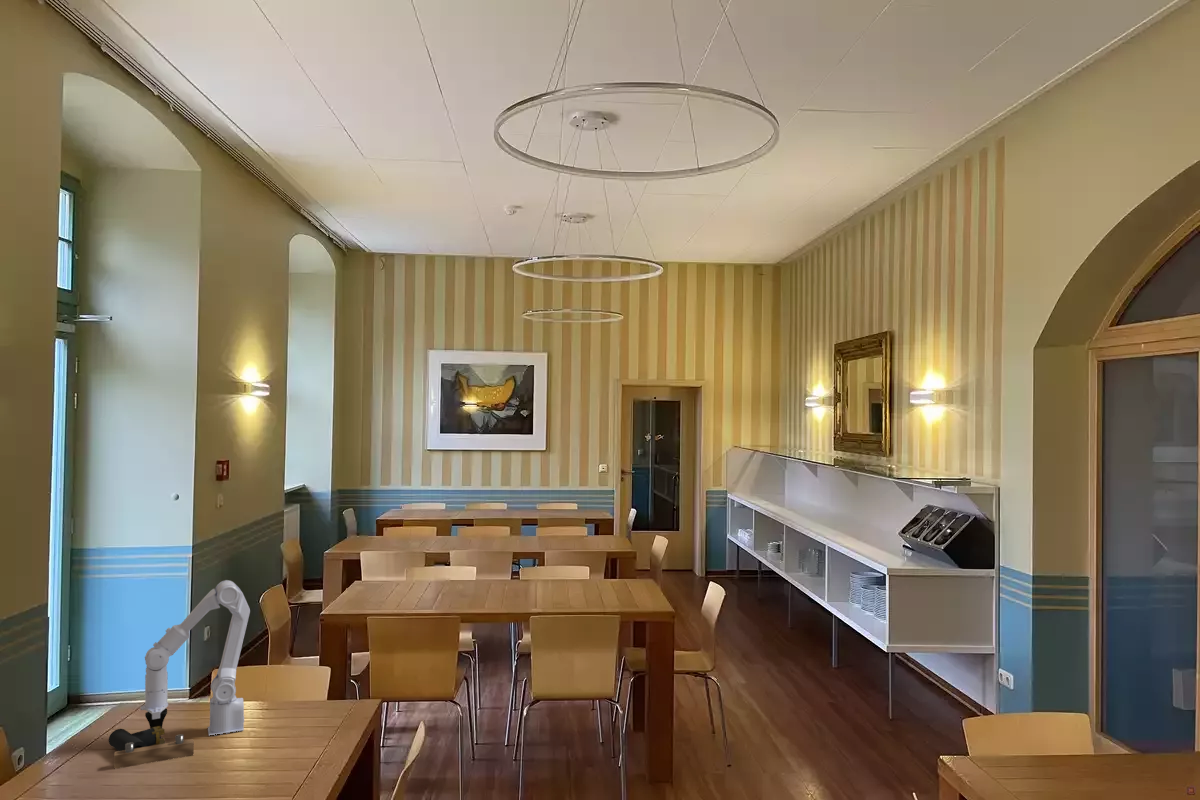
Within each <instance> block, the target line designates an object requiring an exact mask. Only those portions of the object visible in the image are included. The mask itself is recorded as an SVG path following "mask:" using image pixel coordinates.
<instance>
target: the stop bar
mask: <svg viewBox="0 0 1200 800" xmlns="http://www.w3.org/2000/svg"><path fill="white" fill-rule="evenodd" d="M174 737H175V738H174V739H175V741H172V742H167V743H166V742H165V743H164V744H159V745H153V746H147V747H141V748H135V749H134V743H133V742H130V743H127V744H125V750H123V751H118V750H116V751H114V754H113V755H114V756H113V769H114V768H117V769H121V768H120V767H123V768H128V767H132V766H133V767H134V766H139V765H145V764H144V763H146V764H150V763H151V762H152V763H157V762H163V761H169V760H173V758H174V759H179V758H178V757H180V758H184V757H185V756H186V757H190V755H192V756H194V755H193V754H194V753H195V752H194V750H195V749H194V748H195V745H194V744H195V743H194V741H195V740H194V739H193V738H191V739H185V738H184V734H181V733H179V734H176V735H175V736H174ZM184 739H185V740H184ZM168 759H169V760H168ZM156 761H157V762H156Z"/></svg>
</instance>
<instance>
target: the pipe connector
mask: <svg viewBox="0 0 1200 800" xmlns="http://www.w3.org/2000/svg"><path fill="white" fill-rule="evenodd" d="M165 732H166V731H165V728H163V727H162V728H161V727H160V726H157V727H152V728H150V727H149V728H147V729H144V730H140V731H136V732H132V733H130V732H129V731H128V730H126V729H124V728H117V729H115V730H113V731H112V732H111V733H110V734H109V736H108V745H110V746H111V747H112V748H113V749H115V750H116V751H123V750H125V744H127V743H130V742H133V743H134V749H135V748H141V747H147V746H153V745H159V744H165V743H166V741H165V739H166V738H164V737H162V735H165Z"/></svg>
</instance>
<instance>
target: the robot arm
mask: <svg viewBox="0 0 1200 800" xmlns="http://www.w3.org/2000/svg"><path fill="white" fill-rule="evenodd" d="M220 605H222V607H225V608H226V609H228V611H229V612H230V614H231V620H230V622H229V627H228V632H227V636H226V639H225V643H224V648H223V651H222V656H221V660H220V665H219V667H218V668H217V669H218V670H217V672H216V675H215V676H214V678H213V679H212V680H211V684H210V690H211V691H212V697H211V698H210V699H209V726H207V728H208V729H207V734H208V736H209V737H211V736H210V735H214V736H218V735H217V734H220V735H224V734H223V733H226V734H230V732H233V733H238V731H239V732H243V731H244V730H245V729H244V728H245V727H244V723H245V714H244V713H245V708H244V707H245V705H244V704H245V703H244V698H243V697H237V695H236V693H237V688H236V684H235V683H236V680H237V679H236V678H237V676H236V675H237V668H238V664H239V659H240V656H241V651H242V648H243V642H244V638H245V636H246V635H245V634H246V630H247V627H248V626H247V625H248V622H249V617H250V614H251V609H250V606H249V604H248V602H247V599H246V597H245V595H244V592H243V591H242V590H241V588H240V587H239V586H238V585H237V584H236V583H235V582H234V581H232V580H228V579H225V580H222V581H220V582H219V583H218V584H217V585H216V586H215V588H212V589H211V590H210V591H209V592H208V593H207V594H206V595H205V596H204V597H203V598H202V599H201V600H200V602H198V604H197V605H196V606H195V607H194V608H193V610H191V612H190V613H189V614H188V615H187V616H186V617H185V619H184V620H183V621H182V622H181V623H180V624H174V625H172V627H171V628H170V627H168V628H166V630H165V634H164V635H163V636H162V637H160V639H159V640H158V641H156V642H154V643H153V645H152V646H153V647H150V648H149V649H148V650H147V652H146V653H145V656H144V661H145V665H146V667H145V673H146V674H145V676H144V679H145V681H144V685H145V687H144V689H145V690H144V701H145V702H144V705H140V711H143V710H144V711H146V712H145V713H144V714H145V715H144V717H145V718H146V720H147V722H148V724H149V729H150V728H152V727H157V726H160V727H161V728H163V725H164V721H165V719H166V716H167V715H168V708H167V707H169V702H168V681H169V680H168V676H169V675H168V671H167V668H168V667H167V666H168V663H169V660H170V657H172V656H173V655H174V654H175V653H176V652H177V651H178V650H180V648H181V646H183V645H184V643H185V642H187V640H188V639H190V631H191V630H192V629H193V628H194V627H195V626H196V625H197V624H198V623H199V622H200V621H201V620H202V619H203V618H204V617H205V615H207V614H208V613H209V612H210V611H212V610H217V609H220V608H221V606H220ZM236 731H237V732H236ZM215 734H216V735H215Z"/></svg>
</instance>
